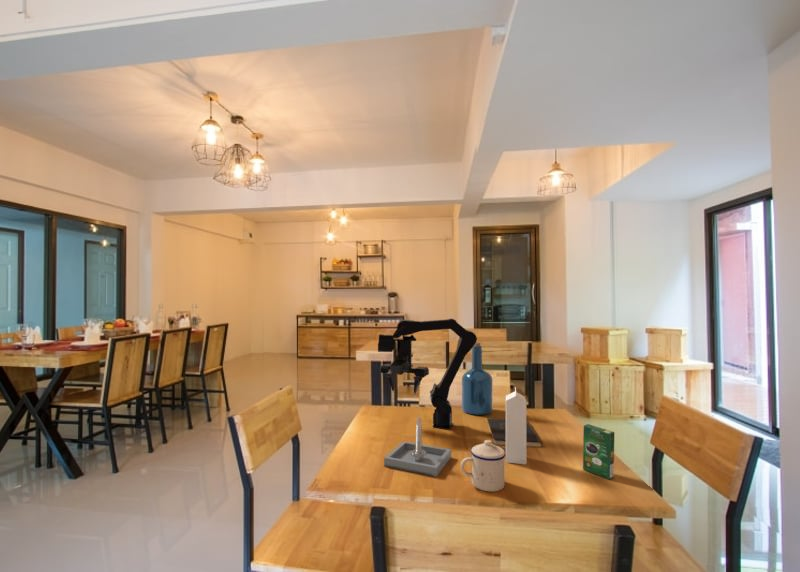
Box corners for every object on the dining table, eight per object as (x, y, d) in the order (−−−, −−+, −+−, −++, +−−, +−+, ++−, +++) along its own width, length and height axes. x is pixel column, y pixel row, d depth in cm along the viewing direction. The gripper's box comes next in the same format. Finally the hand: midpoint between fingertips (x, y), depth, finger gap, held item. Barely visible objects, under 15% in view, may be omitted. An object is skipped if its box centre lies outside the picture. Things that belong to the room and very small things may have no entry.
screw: (422, 464, 117) (408, 461, 119) (428, 458, 121) (414, 455, 123) (423, 420, 117) (408, 418, 119) (429, 415, 121) (414, 413, 123)
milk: (506, 462, 119) (505, 390, 120) (505, 454, 125) (505, 385, 125) (527, 464, 118) (526, 391, 118) (525, 456, 124) (524, 386, 124)
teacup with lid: (498, 475, 111) (498, 434, 111) (510, 492, 102) (510, 447, 102) (457, 477, 110) (457, 435, 110) (465, 494, 101) (465, 448, 101)
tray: (451, 457, 123) (451, 449, 123) (436, 477, 110) (436, 468, 110) (403, 448, 130) (403, 441, 130) (384, 466, 116) (384, 457, 116)
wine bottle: (461, 406, 178) (461, 340, 179) (490, 407, 177) (490, 341, 178) (462, 415, 165) (462, 344, 165) (494, 417, 163) (494, 345, 164)
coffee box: (615, 478, 110) (615, 431, 110) (610, 480, 108) (610, 433, 108) (587, 467, 116) (587, 423, 116) (582, 470, 115) (582, 425, 115)
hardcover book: (493, 446, 134) (493, 439, 134) (487, 423, 156) (487, 418, 156) (542, 448, 132) (542, 441, 132) (528, 425, 154) (528, 419, 154)
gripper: (373, 353, 149) (373, 394, 149) (419, 356, 141) (418, 400, 141) (386, 349, 159) (386, 388, 159) (429, 352, 152) (429, 393, 151)
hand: (404, 392), depth 152 cm, fingers open, 9 cm apart
